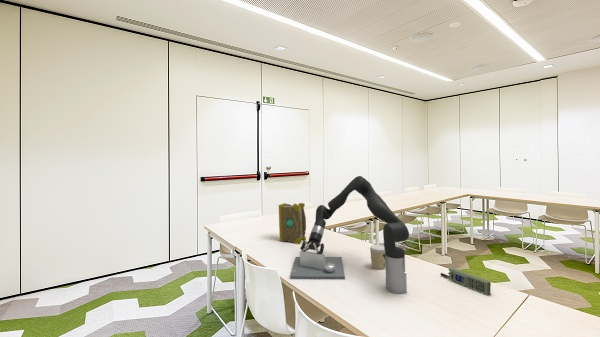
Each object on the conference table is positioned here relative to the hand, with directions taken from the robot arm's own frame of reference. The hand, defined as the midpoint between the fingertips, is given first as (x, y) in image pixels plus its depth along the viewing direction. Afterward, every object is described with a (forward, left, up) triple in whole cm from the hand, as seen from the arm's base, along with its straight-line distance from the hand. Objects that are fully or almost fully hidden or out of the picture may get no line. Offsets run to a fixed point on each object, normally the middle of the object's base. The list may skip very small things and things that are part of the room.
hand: (308, 258), depth 168 cm
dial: (-5, +3, -4) cm, 7 cm away
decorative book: (+16, -55, -7) cm, 58 cm away
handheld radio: (-79, +19, -7) cm, 82 cm away
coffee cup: (-41, -3, -7) cm, 42 cm away
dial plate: (-5, -1, -6) cm, 8 cm away
